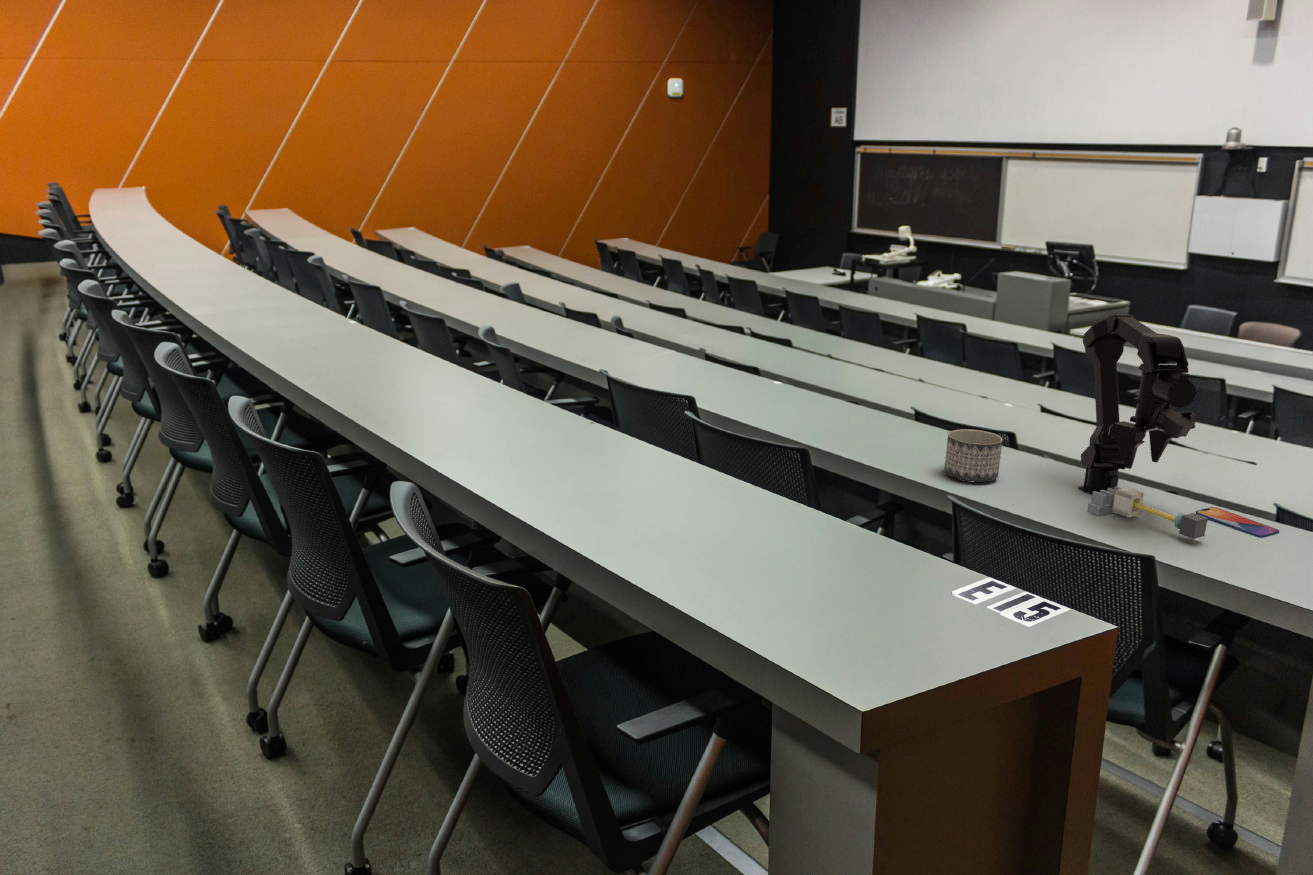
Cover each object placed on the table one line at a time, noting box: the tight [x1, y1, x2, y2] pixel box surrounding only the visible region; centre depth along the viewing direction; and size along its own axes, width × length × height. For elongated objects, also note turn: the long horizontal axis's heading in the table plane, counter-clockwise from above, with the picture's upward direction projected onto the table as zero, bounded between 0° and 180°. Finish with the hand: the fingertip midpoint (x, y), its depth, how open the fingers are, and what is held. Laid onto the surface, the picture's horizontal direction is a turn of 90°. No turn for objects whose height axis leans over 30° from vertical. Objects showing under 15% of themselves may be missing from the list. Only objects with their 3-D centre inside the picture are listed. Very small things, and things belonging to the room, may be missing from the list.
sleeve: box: [1112, 487, 1145, 518], centre depth 209 cm, size 4×4×5 cm
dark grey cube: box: [1178, 512, 1209, 540], centre depth 196 cm, size 4×4×4 cm
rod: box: [1113, 494, 1177, 523], centre depth 205 cm, size 20×1×1 cm, turn 28°
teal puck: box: [1173, 513, 1185, 530], centre depth 198 cm, size 1×3×3 cm, turn 118°
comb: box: [1086, 486, 1124, 517], centre depth 213 cm, size 3×10×5 cm, turn 118°
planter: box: [943, 428, 1004, 483], centre depth 233 cm, size 13×13×10 cm
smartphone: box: [1195, 506, 1280, 539], centre depth 207 cm, size 7×15×1 cm, turn 28°
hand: (1141, 465), depth 206 cm, fingers open, 9 cm apart
